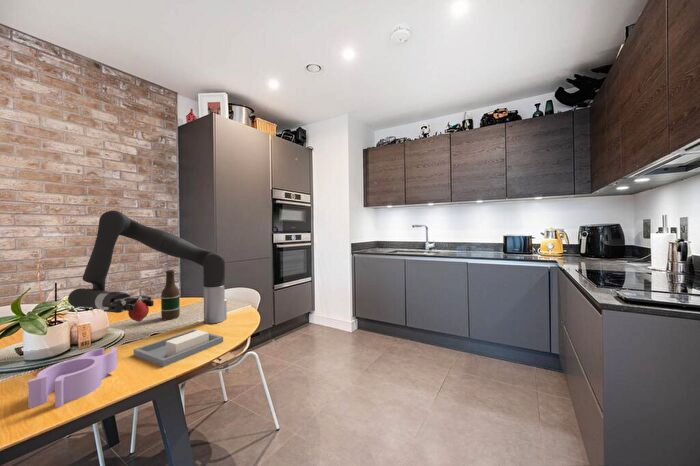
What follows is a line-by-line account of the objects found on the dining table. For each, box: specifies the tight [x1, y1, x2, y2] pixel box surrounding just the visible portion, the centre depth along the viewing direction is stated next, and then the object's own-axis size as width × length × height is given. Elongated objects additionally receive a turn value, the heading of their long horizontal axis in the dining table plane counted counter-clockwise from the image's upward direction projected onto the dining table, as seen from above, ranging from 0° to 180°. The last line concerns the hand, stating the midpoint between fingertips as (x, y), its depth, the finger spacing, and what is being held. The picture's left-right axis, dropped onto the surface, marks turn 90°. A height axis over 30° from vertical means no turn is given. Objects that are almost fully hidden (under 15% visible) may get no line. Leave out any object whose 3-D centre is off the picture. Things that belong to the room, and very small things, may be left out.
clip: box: [27, 346, 118, 409], centre depth 80 cm, size 20×12×7 cm, turn 1°
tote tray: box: [133, 328, 224, 368], centre depth 103 cm, size 22×18×3 cm
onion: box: [127, 299, 149, 323], centre depth 100 cm, size 6×6×8 cm
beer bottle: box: [160, 269, 181, 321], centre depth 141 cm, size 8×8×24 cm
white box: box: [166, 329, 210, 357], centre depth 101 cm, size 12×6×5 cm, turn 152°
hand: (143, 305), depth 100 cm, fingers closed on onion, 5 cm apart
